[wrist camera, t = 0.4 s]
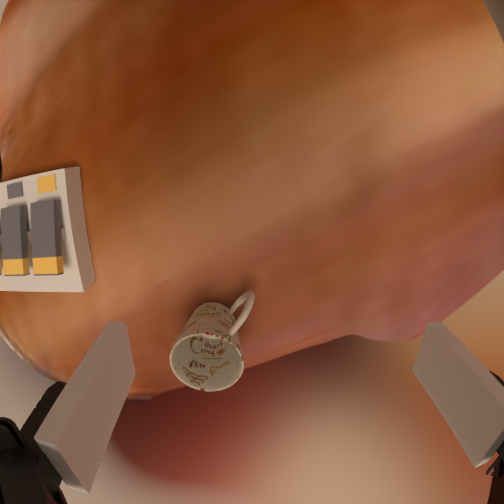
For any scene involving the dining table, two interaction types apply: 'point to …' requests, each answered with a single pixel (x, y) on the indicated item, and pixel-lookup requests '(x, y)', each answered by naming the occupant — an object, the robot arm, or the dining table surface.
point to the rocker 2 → (46, 238)
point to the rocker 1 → (14, 241)
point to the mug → (211, 346)
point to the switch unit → (71, 223)
